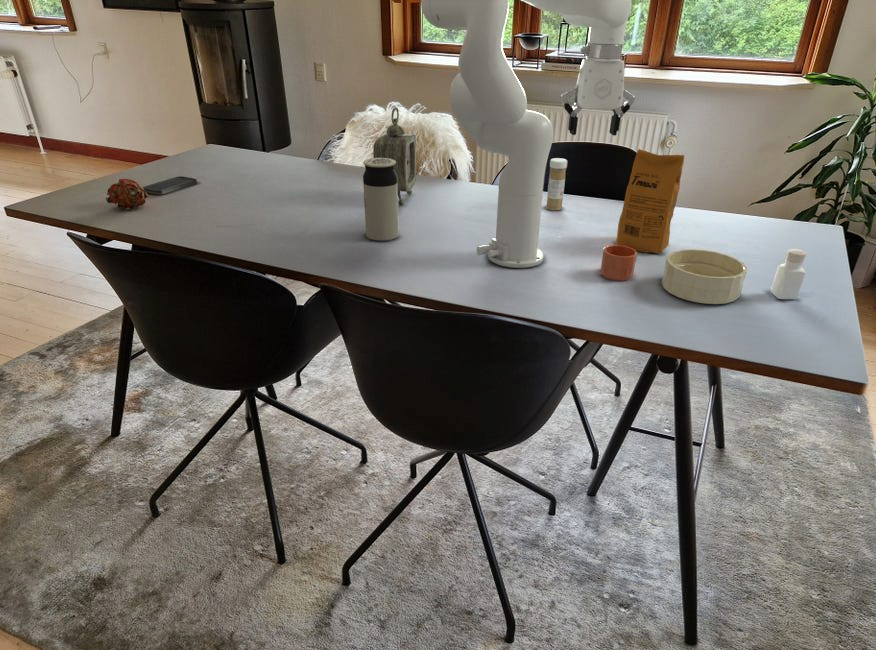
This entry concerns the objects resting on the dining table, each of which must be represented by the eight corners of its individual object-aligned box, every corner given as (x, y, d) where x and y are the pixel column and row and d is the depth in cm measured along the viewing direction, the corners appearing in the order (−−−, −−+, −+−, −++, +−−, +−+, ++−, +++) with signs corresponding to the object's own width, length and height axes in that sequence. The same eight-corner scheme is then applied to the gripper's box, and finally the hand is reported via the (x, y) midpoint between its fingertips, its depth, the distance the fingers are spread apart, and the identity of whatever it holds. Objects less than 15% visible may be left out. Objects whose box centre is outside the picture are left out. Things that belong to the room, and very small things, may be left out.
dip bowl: (615, 283, 131) (619, 259, 128) (593, 272, 136) (596, 248, 134) (639, 277, 134) (644, 253, 131) (617, 266, 139) (621, 243, 136)
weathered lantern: (406, 208, 173) (404, 112, 160) (374, 206, 174) (370, 111, 162) (416, 193, 186) (415, 103, 173) (386, 192, 187) (383, 102, 174)
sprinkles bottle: (553, 205, 178) (558, 156, 171) (565, 209, 175) (571, 160, 168) (542, 208, 176) (546, 159, 169) (554, 212, 173) (559, 162, 166)
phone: (198, 179, 191) (159, 191, 179) (199, 182, 191) (160, 195, 180) (179, 175, 194) (139, 187, 182) (180, 179, 194) (140, 191, 182)
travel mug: (403, 232, 156) (401, 158, 147) (392, 243, 150) (389, 166, 140) (373, 229, 158) (369, 156, 149) (361, 239, 151) (356, 163, 142)
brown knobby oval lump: (147, 217, 167) (116, 218, 172) (161, 192, 171) (130, 193, 175) (123, 197, 160) (91, 197, 165) (137, 171, 163) (106, 172, 168)
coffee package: (623, 234, 158) (638, 144, 146) (673, 244, 152) (692, 151, 140) (609, 245, 151) (623, 151, 139) (660, 257, 145) (679, 160, 133)
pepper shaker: (787, 292, 129) (801, 248, 124) (797, 300, 126) (812, 255, 121) (768, 291, 129) (782, 248, 124) (778, 300, 125) (792, 255, 121)
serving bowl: (703, 312, 120) (710, 283, 117) (645, 283, 132) (651, 256, 128) (755, 296, 127) (763, 269, 124) (696, 270, 138) (702, 244, 135)
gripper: (570, 53, 134) (560, 137, 142) (648, 55, 135) (634, 137, 144) (561, 50, 140) (552, 130, 149) (635, 52, 142) (623, 131, 150)
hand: (592, 134), depth 146 cm, fingers open, 9 cm apart
